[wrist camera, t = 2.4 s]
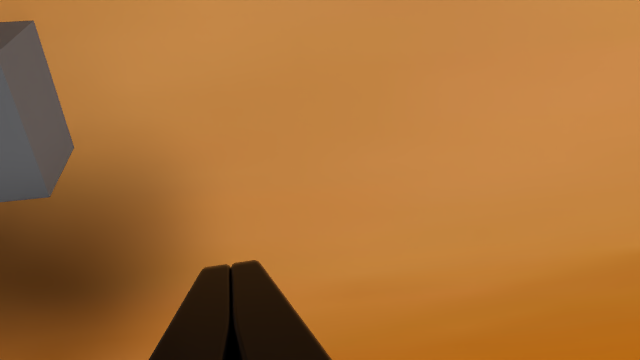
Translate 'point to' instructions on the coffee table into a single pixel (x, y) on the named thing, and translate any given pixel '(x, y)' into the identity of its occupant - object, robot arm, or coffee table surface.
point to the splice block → (29, 117)
